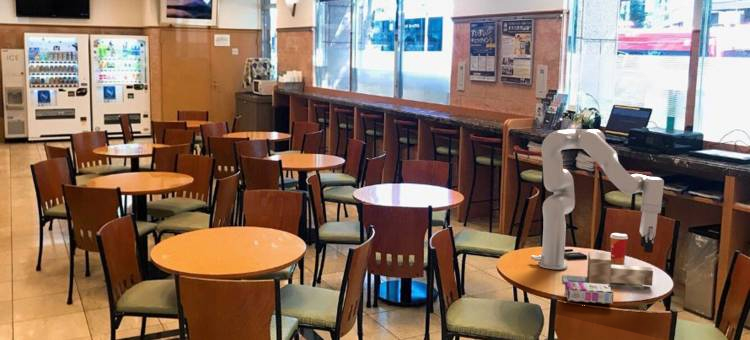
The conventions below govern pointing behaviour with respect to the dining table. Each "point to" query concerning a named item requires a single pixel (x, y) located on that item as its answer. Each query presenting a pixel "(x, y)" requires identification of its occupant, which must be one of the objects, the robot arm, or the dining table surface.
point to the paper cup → (618, 247)
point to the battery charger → (574, 255)
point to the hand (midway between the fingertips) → (646, 249)
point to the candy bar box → (589, 292)
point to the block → (631, 275)
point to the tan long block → (599, 272)
